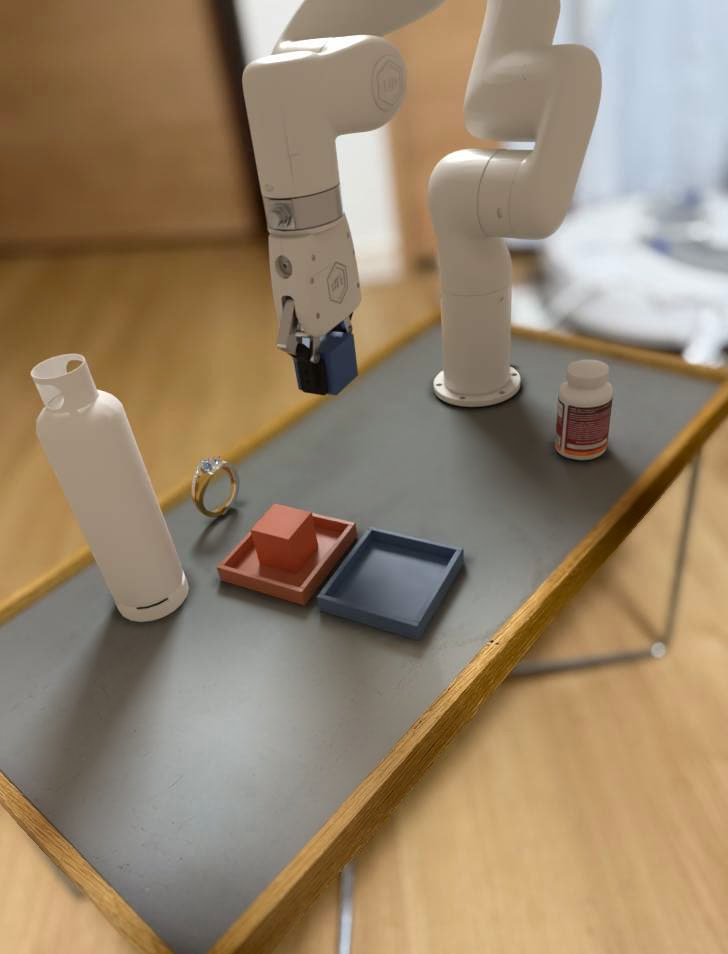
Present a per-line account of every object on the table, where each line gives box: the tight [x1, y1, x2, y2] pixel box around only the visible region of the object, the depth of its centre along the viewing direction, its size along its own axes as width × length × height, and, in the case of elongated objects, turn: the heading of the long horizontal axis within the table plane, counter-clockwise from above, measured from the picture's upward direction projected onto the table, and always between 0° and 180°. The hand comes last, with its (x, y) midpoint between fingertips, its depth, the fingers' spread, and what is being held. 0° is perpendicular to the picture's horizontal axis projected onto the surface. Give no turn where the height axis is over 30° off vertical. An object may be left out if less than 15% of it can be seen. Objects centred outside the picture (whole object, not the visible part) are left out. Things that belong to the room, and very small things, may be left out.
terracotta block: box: [249, 503, 318, 574], centre depth 78 cm, size 5×5×5 cm
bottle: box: [30, 353, 190, 623], centre depth 70 cm, size 8×8×28 cm
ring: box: [191, 454, 241, 518], centre depth 86 cm, size 7×3×8 cm, turn 137°
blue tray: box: [316, 525, 465, 641], centre depth 74 cm, size 12×11×2 cm
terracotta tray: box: [216, 512, 358, 607], centre depth 80 cm, size 12×11×2 cm
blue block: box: [292, 331, 359, 396], centre depth 78 cm, size 5×5×5 cm
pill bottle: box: [554, 359, 614, 461], centre depth 85 cm, size 6×6×11 cm
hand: (328, 379), depth 79 cm, fingers closed on blue block, 5 cm apart
